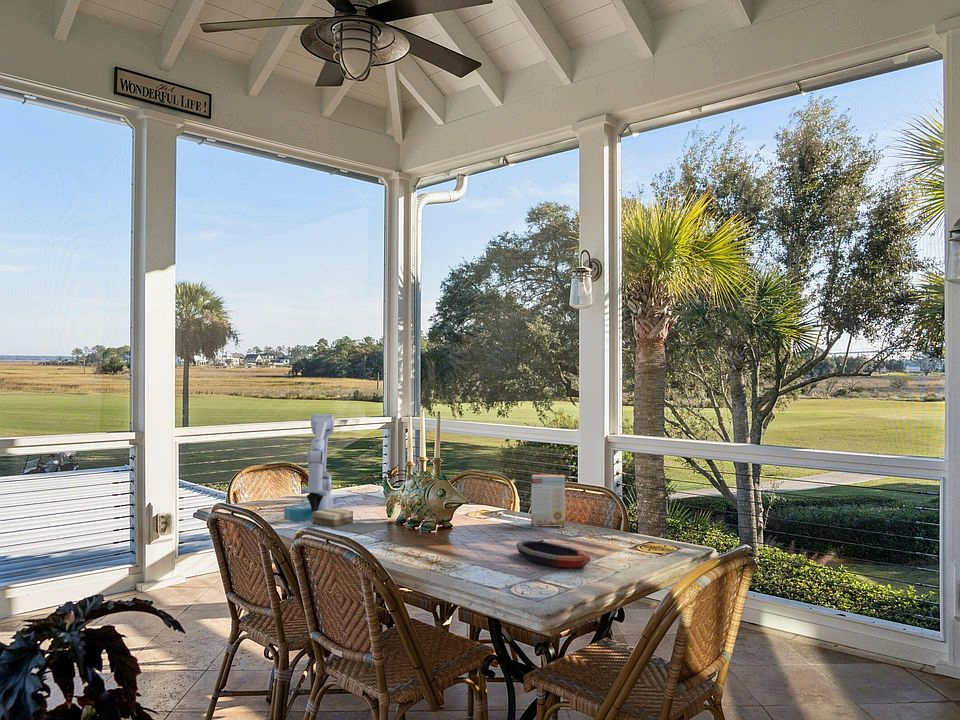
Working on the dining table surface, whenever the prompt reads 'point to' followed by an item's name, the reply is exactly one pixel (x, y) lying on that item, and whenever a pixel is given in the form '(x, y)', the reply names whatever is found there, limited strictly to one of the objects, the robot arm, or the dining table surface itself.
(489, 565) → the dining table surface
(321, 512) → the cover plate
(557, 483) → the cracker box
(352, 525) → the rubber mat
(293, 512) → the data package
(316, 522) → the walnut box
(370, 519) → the dining table surface
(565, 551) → the dish
